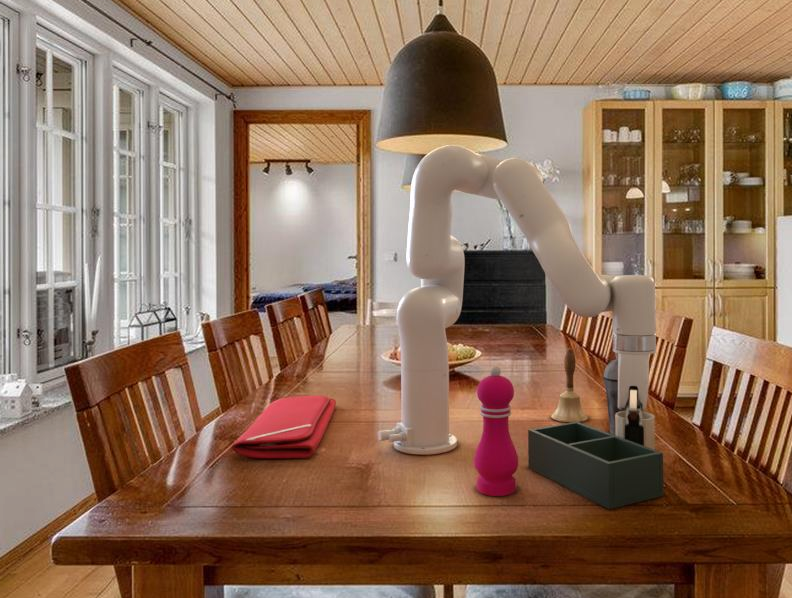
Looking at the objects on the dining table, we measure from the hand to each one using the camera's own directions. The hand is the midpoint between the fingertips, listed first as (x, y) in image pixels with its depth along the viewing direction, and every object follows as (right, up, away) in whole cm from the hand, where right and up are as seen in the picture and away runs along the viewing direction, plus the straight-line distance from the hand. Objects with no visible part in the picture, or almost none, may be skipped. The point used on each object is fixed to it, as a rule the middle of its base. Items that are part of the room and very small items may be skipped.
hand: (635, 442), depth 118 cm
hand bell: (-6, -5, +33) cm, 34 cm away
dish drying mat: (-68, -5, +25) cm, 73 cm away
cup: (0, -4, 0) cm, 4 cm away
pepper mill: (-26, -4, -11) cm, 28 cm away
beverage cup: (+3, -5, +21) cm, 21 cm away
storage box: (-9, -4, -8) cm, 13 cm away
